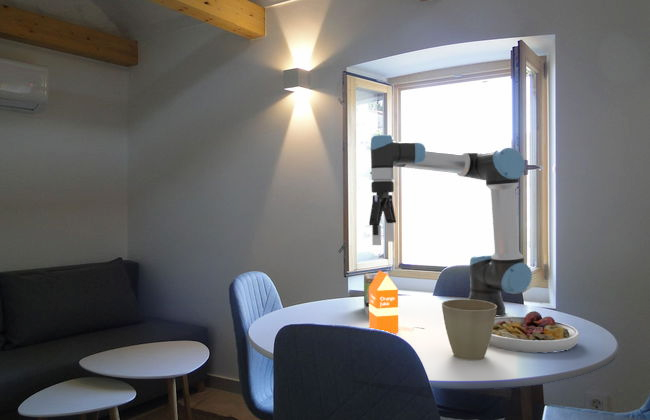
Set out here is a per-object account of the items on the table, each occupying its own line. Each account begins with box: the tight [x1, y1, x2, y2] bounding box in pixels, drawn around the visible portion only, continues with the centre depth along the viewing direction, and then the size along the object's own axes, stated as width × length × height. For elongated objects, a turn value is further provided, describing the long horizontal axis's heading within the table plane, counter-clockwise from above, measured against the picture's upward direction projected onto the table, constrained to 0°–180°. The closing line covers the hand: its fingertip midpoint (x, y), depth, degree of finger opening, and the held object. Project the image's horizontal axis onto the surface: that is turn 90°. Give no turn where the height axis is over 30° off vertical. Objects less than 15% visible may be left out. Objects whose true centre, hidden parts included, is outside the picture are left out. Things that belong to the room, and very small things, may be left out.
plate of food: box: [489, 311, 580, 353], centre depth 161 cm, size 30×30×8 cm
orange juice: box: [368, 270, 399, 334], centre depth 175 cm, size 8×9×20 cm
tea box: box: [363, 273, 391, 316], centre depth 208 cm, size 15×10×15 cm
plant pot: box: [441, 298, 497, 361], centre depth 144 cm, size 15×15×16 cm
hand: (383, 243), depth 175 cm, fingers open, 13 cm apart
